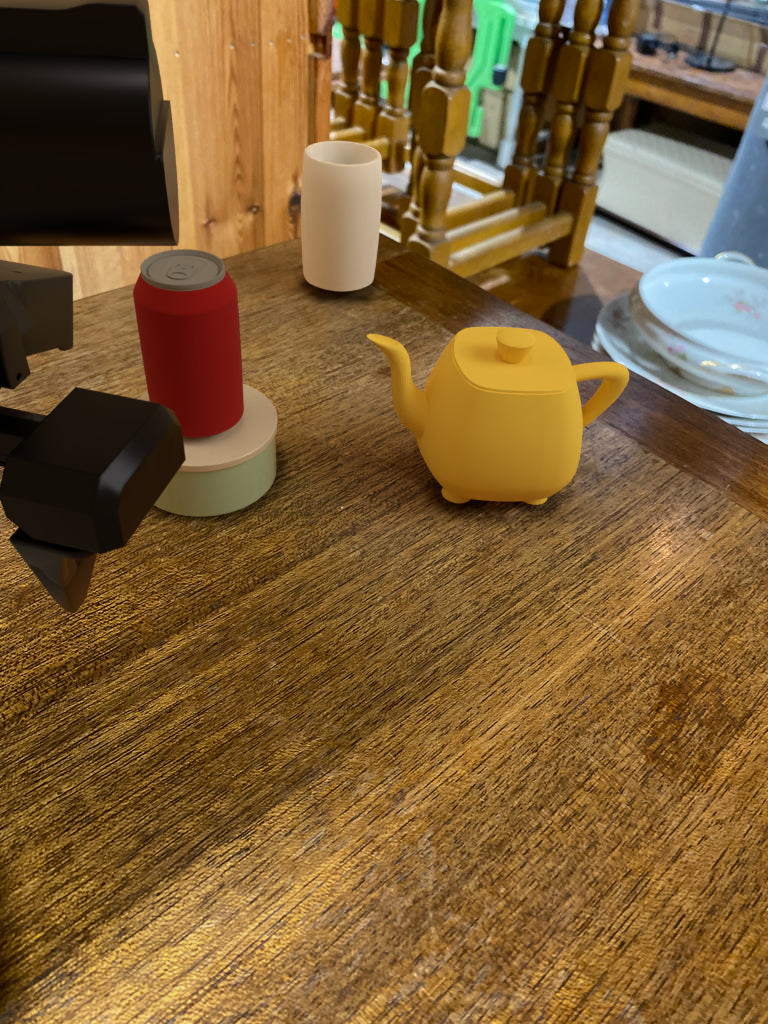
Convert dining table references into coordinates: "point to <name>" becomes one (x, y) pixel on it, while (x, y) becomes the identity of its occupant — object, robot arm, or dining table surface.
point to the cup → (340, 214)
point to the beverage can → (191, 339)
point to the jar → (226, 464)
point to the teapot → (500, 412)
